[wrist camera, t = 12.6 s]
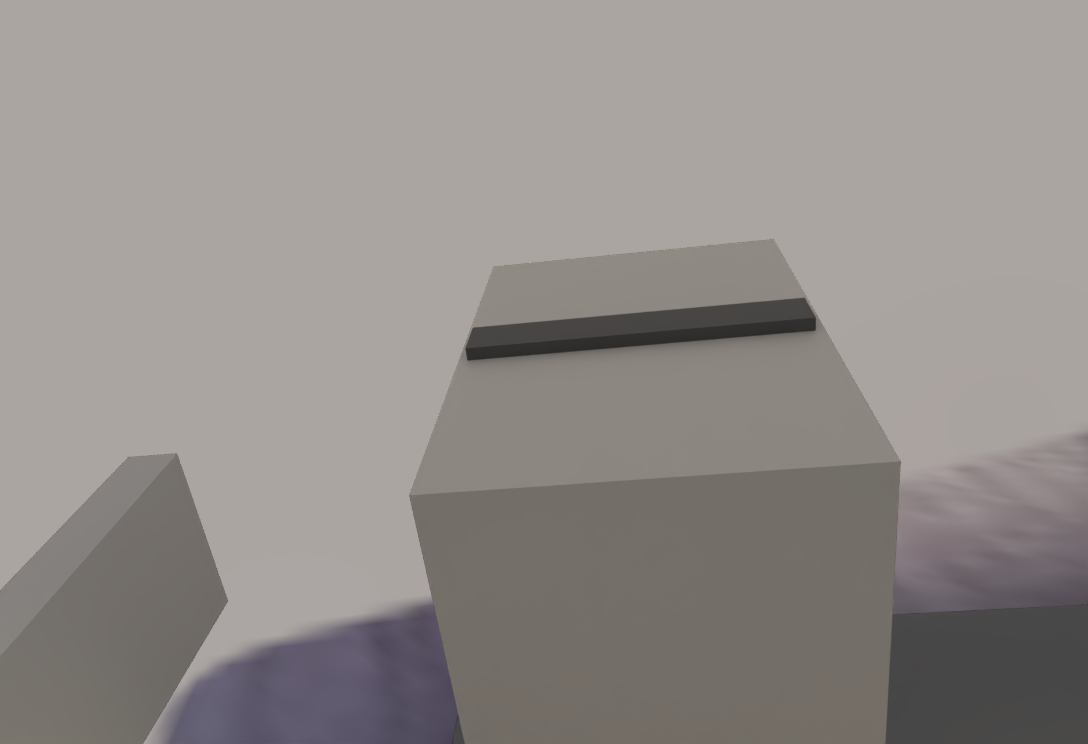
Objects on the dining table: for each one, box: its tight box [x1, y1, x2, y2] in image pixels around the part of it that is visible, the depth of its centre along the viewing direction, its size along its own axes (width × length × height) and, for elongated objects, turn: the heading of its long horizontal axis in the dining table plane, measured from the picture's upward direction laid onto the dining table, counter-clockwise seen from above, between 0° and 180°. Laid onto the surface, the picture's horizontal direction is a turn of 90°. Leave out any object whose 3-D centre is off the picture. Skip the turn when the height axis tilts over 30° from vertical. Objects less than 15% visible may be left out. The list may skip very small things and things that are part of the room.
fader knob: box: [409, 239, 901, 744], centre depth 12 cm, size 4×6×10 cm, turn 176°
